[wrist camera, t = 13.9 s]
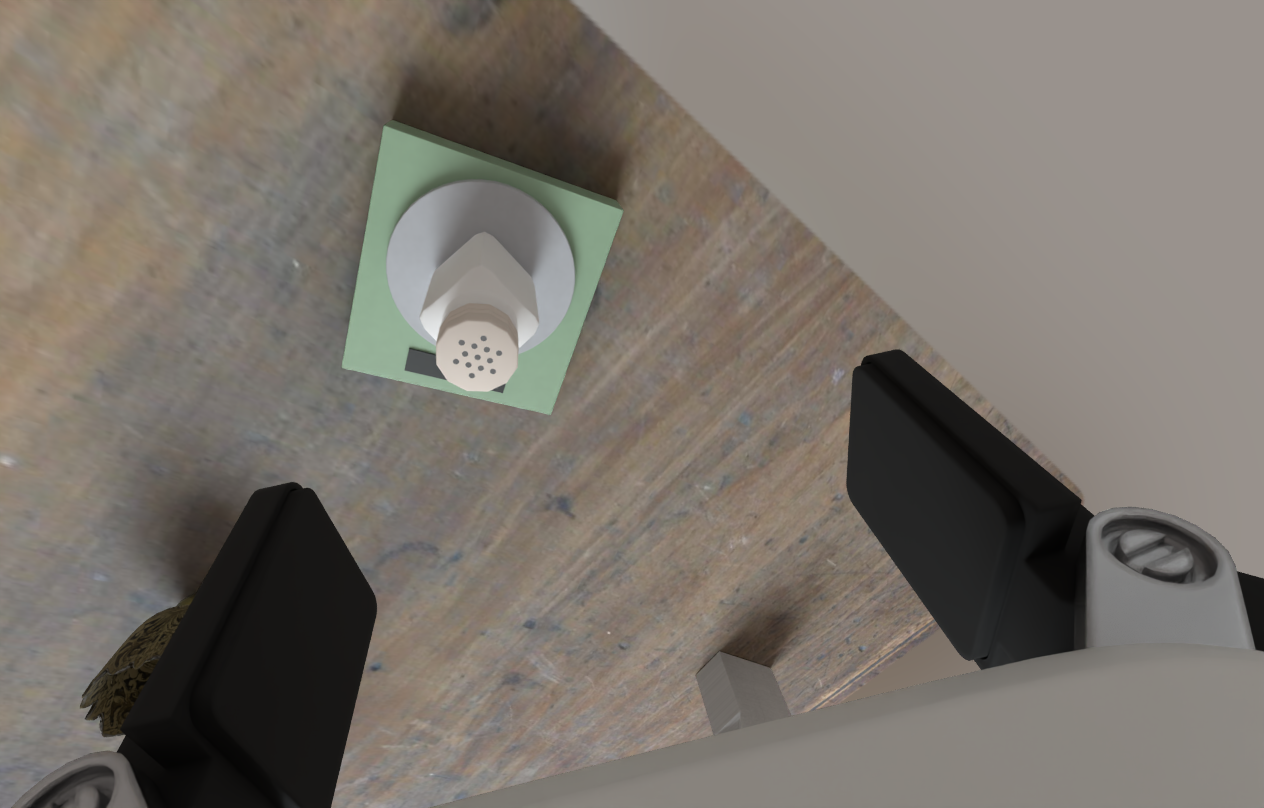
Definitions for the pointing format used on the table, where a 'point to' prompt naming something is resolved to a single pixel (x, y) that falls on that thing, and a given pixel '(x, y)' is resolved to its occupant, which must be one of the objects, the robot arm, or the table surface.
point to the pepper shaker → (480, 314)
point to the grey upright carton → (739, 693)
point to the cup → (130, 670)
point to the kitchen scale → (439, 226)
